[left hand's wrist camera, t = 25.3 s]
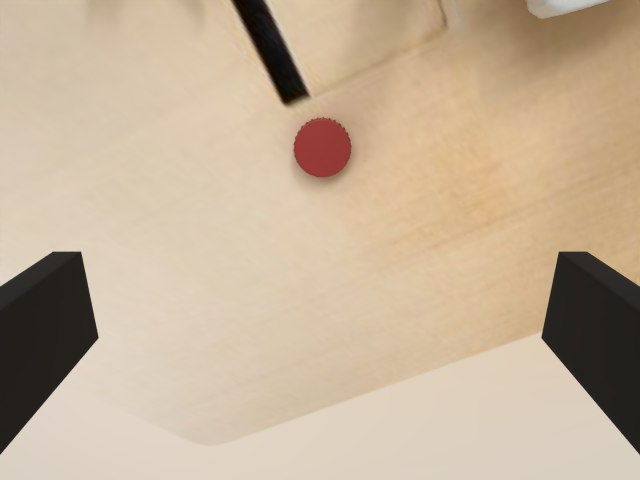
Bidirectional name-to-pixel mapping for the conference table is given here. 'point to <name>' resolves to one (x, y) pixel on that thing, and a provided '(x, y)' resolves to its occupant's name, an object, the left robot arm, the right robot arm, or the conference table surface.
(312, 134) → the lid
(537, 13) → the right robot arm
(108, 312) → the conference table surface
